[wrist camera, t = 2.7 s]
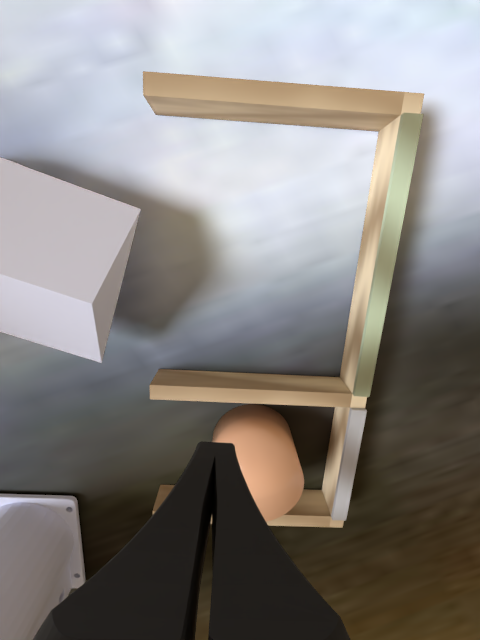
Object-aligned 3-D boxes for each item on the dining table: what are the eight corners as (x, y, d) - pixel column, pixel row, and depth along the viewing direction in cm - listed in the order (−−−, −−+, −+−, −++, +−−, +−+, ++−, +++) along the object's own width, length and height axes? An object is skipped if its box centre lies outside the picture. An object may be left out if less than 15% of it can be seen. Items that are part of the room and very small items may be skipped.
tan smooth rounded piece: (286, 472, 24) (298, 524, 20) (211, 469, 24) (206, 521, 19) (294, 405, 22) (309, 445, 18) (214, 402, 22) (209, 441, 18)
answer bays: (332, 500, 25) (344, 531, 22) (160, 495, 24) (151, 526, 21) (398, 113, 17) (428, 90, 15) (155, 94, 17) (141, 67, 14)
